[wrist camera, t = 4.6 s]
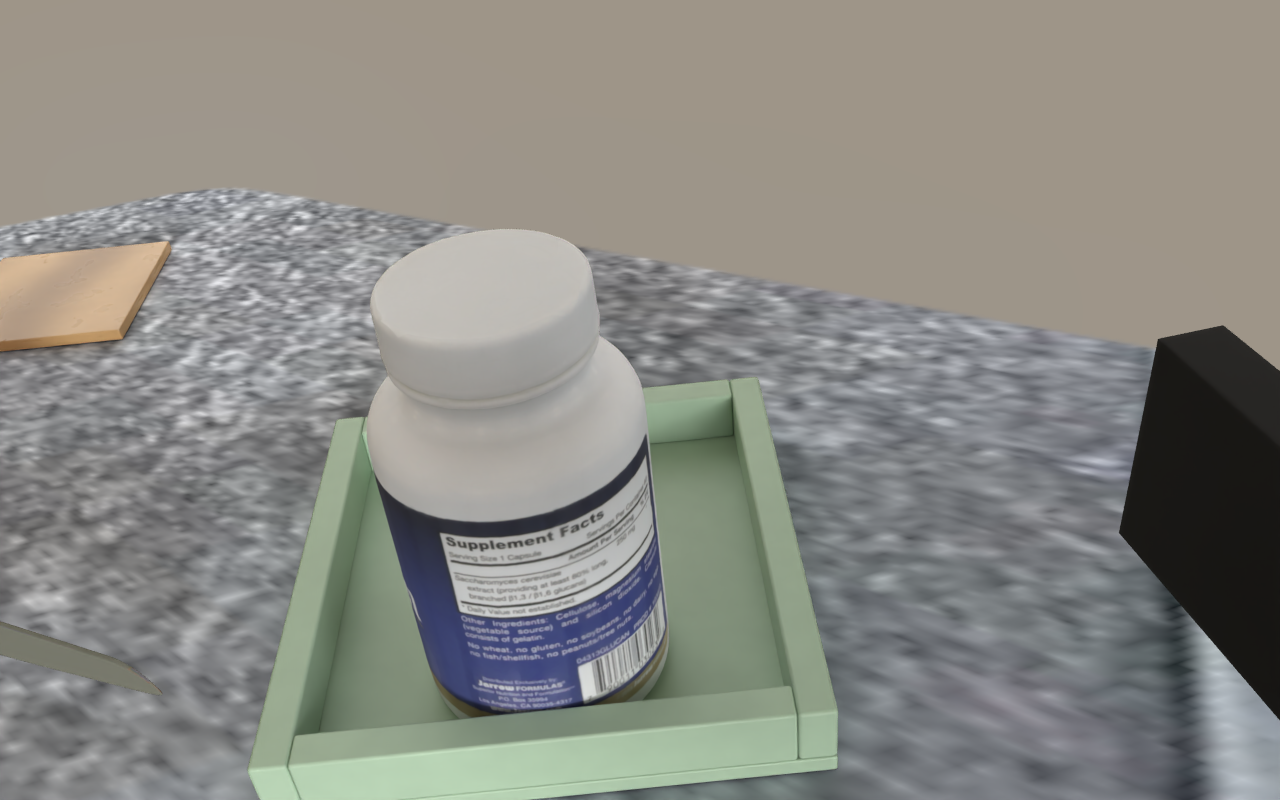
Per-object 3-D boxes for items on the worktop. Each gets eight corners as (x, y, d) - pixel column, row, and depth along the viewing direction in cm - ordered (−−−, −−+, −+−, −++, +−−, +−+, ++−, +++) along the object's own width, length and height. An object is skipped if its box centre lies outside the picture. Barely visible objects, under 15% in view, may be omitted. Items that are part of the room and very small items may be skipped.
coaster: (172, 249, 46) (169, 240, 46) (123, 339, 41) (119, 329, 40) (6, 266, 46) (2, 257, 46) (-64, 358, 41) (-69, 348, 40)
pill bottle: (437, 586, 29) (344, 227, 23) (657, 557, 29) (618, 193, 23) (426, 770, 25) (310, 384, 19) (685, 734, 25) (646, 341, 19)
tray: (759, 427, 34) (757, 375, 33) (838, 769, 24) (838, 711, 23) (350, 469, 34) (335, 418, 33) (270, 827, 24) (245, 771, 23)
